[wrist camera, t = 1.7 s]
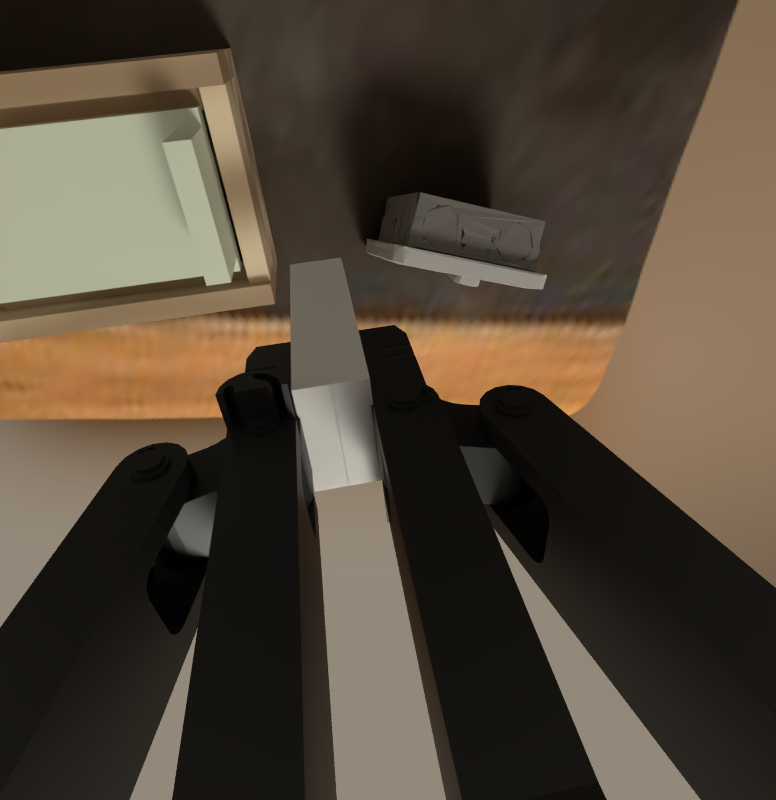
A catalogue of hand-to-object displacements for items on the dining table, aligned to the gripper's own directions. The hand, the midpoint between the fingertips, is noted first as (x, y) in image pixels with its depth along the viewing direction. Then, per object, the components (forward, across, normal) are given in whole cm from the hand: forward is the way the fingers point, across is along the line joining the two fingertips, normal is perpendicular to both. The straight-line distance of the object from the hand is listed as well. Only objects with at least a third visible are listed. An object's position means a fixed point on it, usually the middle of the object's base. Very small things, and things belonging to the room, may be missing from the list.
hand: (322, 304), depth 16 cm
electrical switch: (+21, +8, -5) cm, 23 cm away
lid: (+15, -11, 0) cm, 19 cm away
